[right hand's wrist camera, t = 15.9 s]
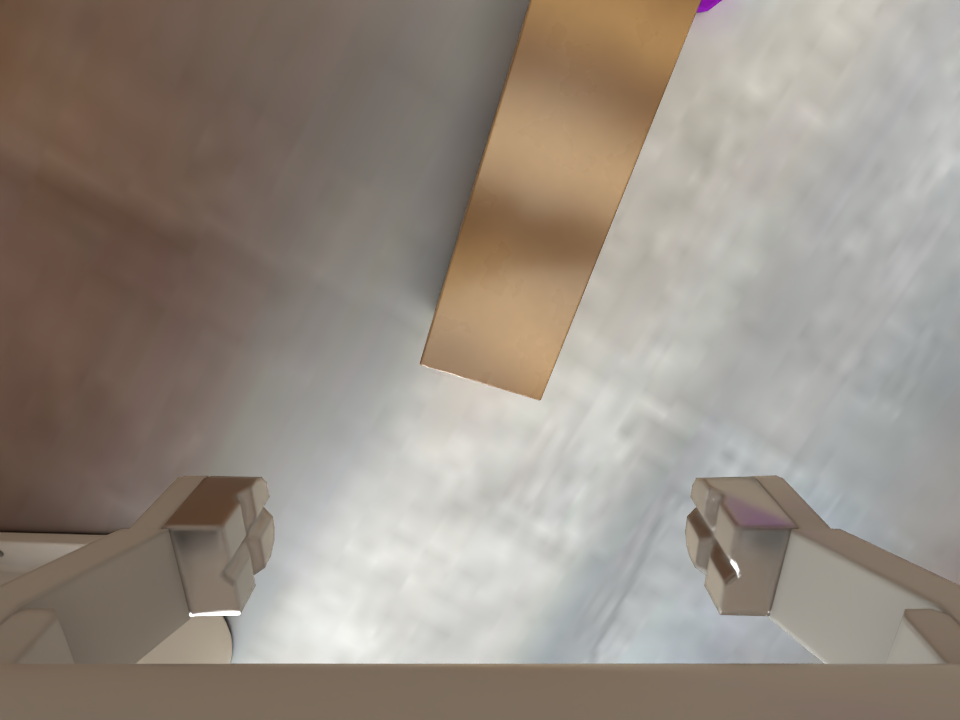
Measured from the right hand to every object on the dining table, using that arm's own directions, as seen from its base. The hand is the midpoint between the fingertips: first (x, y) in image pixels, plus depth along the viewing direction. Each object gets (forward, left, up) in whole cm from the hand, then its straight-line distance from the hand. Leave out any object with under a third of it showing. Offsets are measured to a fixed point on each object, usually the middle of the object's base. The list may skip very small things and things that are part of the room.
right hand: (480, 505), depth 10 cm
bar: (+2, +8, -22) cm, 24 cm away
